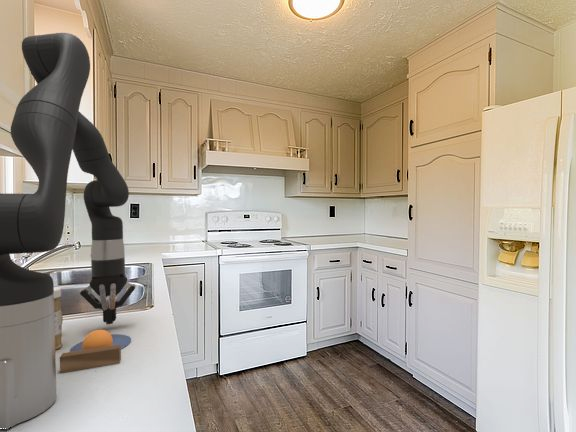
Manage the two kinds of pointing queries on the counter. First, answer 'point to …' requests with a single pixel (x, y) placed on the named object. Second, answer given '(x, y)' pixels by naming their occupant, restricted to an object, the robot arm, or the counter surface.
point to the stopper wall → (90, 358)
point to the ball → (97, 340)
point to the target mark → (117, 340)
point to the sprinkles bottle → (57, 317)
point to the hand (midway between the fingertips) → (109, 323)
